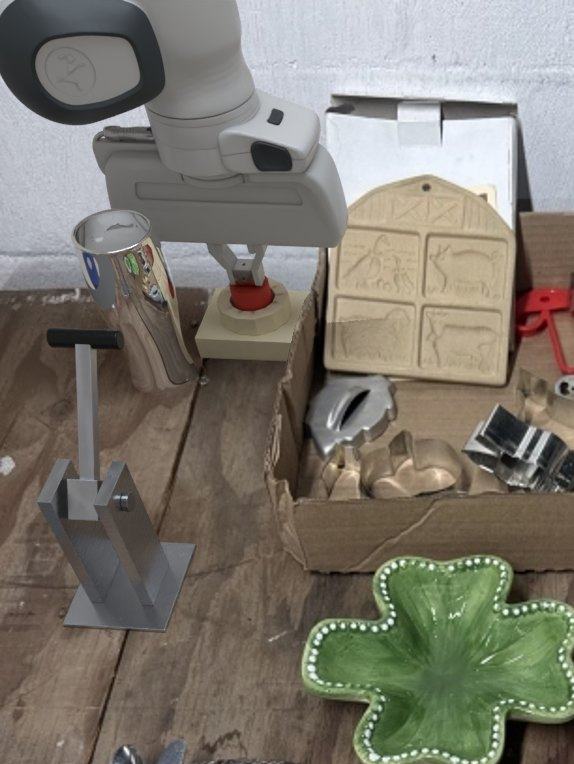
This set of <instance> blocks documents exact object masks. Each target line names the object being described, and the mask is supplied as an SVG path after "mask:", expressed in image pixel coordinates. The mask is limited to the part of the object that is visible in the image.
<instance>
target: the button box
mask: <svg viewBox="0 0 574 764" xmlns="http://www.w3.org/2000/svg"><path fill="white" fill-rule="evenodd" d="M267 278H268V282H269V286H270V290H271V294H272V298H273V302H272V303H271V304H270V305H268V306H267V307H266V308H263V309H260V310H256V311H241V310H239V309H236V308H235V306H234V302H233V299H232V295H231V292H230V288H229V284H228V285H227V286H225V287H215V288H214V291H213V294H212V296H211V299H210V301H209V303H208V306H207V308H206V310H205V313H204V315H203V318H202V321H200V325H199V327H198V329H197V331H196V334H195V336H194V341H195V344H196V348H197V350H198V353H199V356H200V358H201V359H221V360H223V359H225V360H226V359H227V360H242V361H243V360H244V361H245V360H249V361H270V362H288V361H287V358H288V354H289V349H290V345H291V341H292V336H293V332H294V328H295V325H296V323H297V320H298V318H299V315H300V313H301V308H302V305H303V303H304V300H305V299H306V297H307V295H308V294H309V292H310V290H289V289H288V290H287V288H286V286H285V285H284V284H283V282H280V281H278V280H276V279H273V278H271V277H267Z"/></svg>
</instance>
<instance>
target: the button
mask: <svg viewBox="0 0 574 764" xmlns="http://www.w3.org/2000/svg"><path fill="white" fill-rule="evenodd" d="M268 278H269V277H267V276H266V275H265V280H264V282H263V285H262V286H244V285H231V284H230V282H229V283H228V285H229V288H230V292H231V295H232V299H233V302H234V306H235V308H236V309H239V310H241V311H256V310H260V309H263V308H266V307H267V306H268V305H270V304H271V303H272V302H273V298H272V294H271V290H270V286H269V282H268Z"/></svg>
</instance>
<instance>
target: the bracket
mask: <svg viewBox="0 0 574 764" xmlns="http://www.w3.org/2000/svg"><path fill="white" fill-rule="evenodd" d="M67 479H79V480H80V478H79V473H78V471H77V469H76V467H75V465H74V463H73V461H72V459H71V458H57V459H56V461H55V463H54V465H53V466H52V469H51V471H50V473H49V475H48V476H47V479H46V481H45V483H44V485H43V487H42V490H41V492H40V494H39V495H38V498H37V500H36V504H37V505H38V507H39V509H40V511H41V513H42V515H43V517H44V518H45V521H46V522H47V524H48V526H49V528H50V530H51V532H52V533H53V535H54V536H55V539H56V540H57V542H58V544H59V546H60V548H61V550H62V551H63V553H64V555H65V557H66V559H67V561H68V563H69V564H70V566H71V568H72V570H73V572H74V574H75V576H76V577H77V580H78V581H79V585H78V587H77V589H76V592H75V593H74V597H72V598H73V599H72V601H71V603H70V605H69V608H68V610H67V611H66V615H65V617H64V619H63V621H62V626H63V627H64V628H76V629H77V628H78V629H94V630H113V631H129V632H131V631H132V632H145V633H149V632H150V633H167V630H168V628H169V625H170V622H171V619H172V616H173V615H174V611H175V608H176V605H177V603H178V600H179V597H180V594H181V593H182V590H183V586H184V583H185V580H186V578H187V575H188V572H189V570H190V567H191V564H192V560H193V558H194V555H195V552H196V550H197V544H196V543H189V542H172V541H171V542H168V541H160V539H159V537H158V534H157V532H156V530H155V527H154V524H153V523H152V520H151V518H150V515H149V513H148V511H147V508H146V506H145V504H144V501H143V499H142V497H141V495H140V492H139V490H138V487H137V485H136V484H135V481H134V478H133V476H132V474H131V472H130V469H129V467H128V464H127V462H126V461H114V460H112V461H111V463H110V464H109V467H108V468H107V471H106V473H105V476H104V477H103V480H102V481H103V483H102V485H101V487H100V489H99V492H98V494H97V496H96V498H95V501H94V503H93V506H94V508H95V510H96V512H97V514H98V516H99V518H100V521H91V520H71V519H68V495H67Z"/></svg>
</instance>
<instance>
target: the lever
mask: <svg viewBox="0 0 574 764" xmlns="http://www.w3.org/2000/svg"><path fill="white" fill-rule="evenodd" d="M45 336H46V342H47V344H48V346H49V347H50V348H53V349H54V348H55V349H74V350H75V351H74V352H75V353H74V354H75V356H74V357H75V382H76V383H75V385H76V413H77V442H78V443H77V445H78V472H79V473H78V475H79V478H80V480H79V479H67V495H68V519H71V520H91V521H100V518H99V516H98V514H97V512H96V510H95V508H94V506H93V503H94V501H95V498H96V496H97V494H98V492H99V489H100V487H101V485H102V483H103V481H104V480H101V456H100V427H99V426H100V424H99V423H100V422H99V391H98V389H99V388H98V357H97V355H98V353H97V352H98V351H97V350H99V351H100V350H101V351H123V348H124V337H123V334H122V332H121V331H119V330H110V329H95V328H75V327H74V328H73V327H71V328H69V327H49V328H47V330H46V334H45Z"/></svg>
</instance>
